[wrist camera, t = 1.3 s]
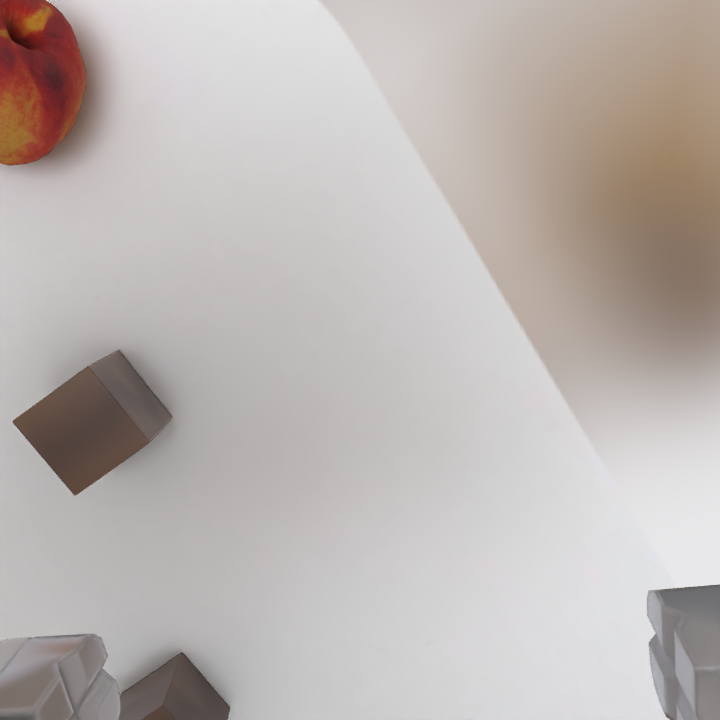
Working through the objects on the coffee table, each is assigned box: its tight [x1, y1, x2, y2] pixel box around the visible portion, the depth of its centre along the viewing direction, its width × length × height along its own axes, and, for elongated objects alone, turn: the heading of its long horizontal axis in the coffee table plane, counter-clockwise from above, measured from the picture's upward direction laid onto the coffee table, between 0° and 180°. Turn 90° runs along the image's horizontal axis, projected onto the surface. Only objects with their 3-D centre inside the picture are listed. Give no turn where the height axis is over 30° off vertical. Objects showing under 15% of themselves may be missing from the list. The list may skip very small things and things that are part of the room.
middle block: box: [13, 350, 172, 495], centre depth 37 cm, size 5×5×5 cm
